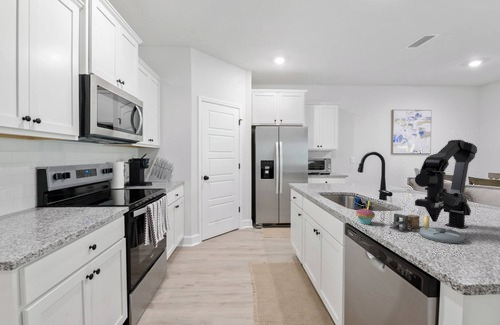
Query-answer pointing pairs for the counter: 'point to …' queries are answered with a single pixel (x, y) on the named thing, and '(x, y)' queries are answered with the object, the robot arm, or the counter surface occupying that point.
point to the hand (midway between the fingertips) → (434, 221)
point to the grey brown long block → (409, 221)
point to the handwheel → (440, 233)
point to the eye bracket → (404, 223)
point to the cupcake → (365, 215)
